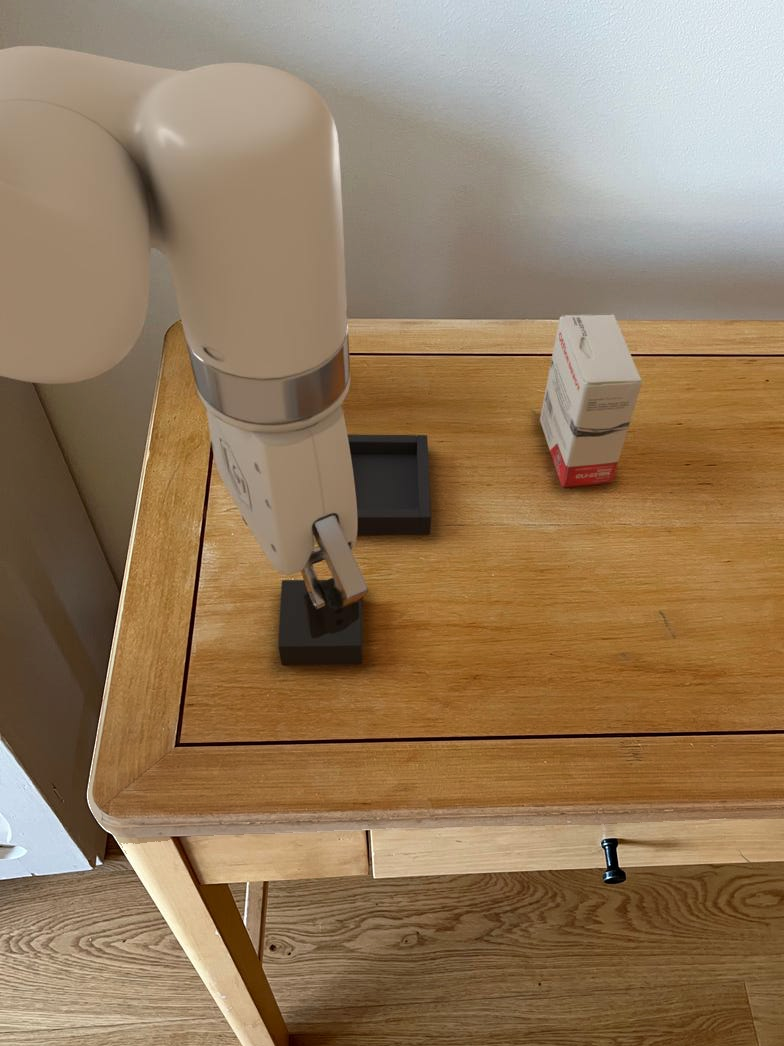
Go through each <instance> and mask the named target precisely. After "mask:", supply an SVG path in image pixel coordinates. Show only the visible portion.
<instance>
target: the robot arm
mask: <svg viewBox="0 0 784 1046" xmlns="http://www.w3.org/2000/svg"><path fill="white" fill-rule="evenodd" d="M341 171H342V170H341V154H340V144H339V134H338V129H337V126H336V122H335V119H334V117H333V115H332V113H331V111H330V109H329V107H328V105H327V103H326V102H325V101H324V99H323V98H322V97H321V96H320V94H319V93H318V92H317V91H316V90H315V88H314V87H312V86H311V85H309V84H308V83H307V82H306V81H304V80H302V79H300V78H299V77H297V76H296V75H293V74H291V73H289V72H287V71H285V70H282V69H280V68H279V69H278V68H276V67H274V66H273V67H272V66H269V65H264V64H259V63H251V62H221V63H212V64H208V65H207V64H206V65H203V66H199V67H194V68H192V69H190V70H180V69H173V68H172V69H171V68H165V67H158V66H153V65H147V64H142V63H136V62H132V61H128V60H127V61H126V60H122V59H117V58H113V57H108V56H104V55H103V56H102V55H97V54H92V53H89V52H88V53H87V52H83V51H79V50H72V49H67V48H61V47H53V46H52V47H51V46H44V45H18V46H12V47H7V48H2V49H0V377H5V378H7V379H12V380H17V381H20V382H27V383H35V384H43V385H62V384H74V383H78V382H83V381H86V380H90V379H93V378H97V377H98V376H101V375H103V374H104V373H106V372H109V371H110V370H112V369H113V368H114V367H116V366H117V365H118V364H119V363H120V362H121V361H122V360H123V359H124V358H126V357H127V356H128V355H129V354H130V352H131V350H132V349H133V347H134V345H135V344H136V343H137V341H138V339H139V338H140V336H141V333H142V331H143V328H144V325H145V321H146V319H147V314H148V310H149V309H148V308H149V296H150V282H151V281H150V279H151V248H154V249H155V250H158V251H159V252H160V253H162V254H163V255H164V257H165V259H166V260H167V263H168V267H169V272H170V275H171V281H172V285H173V290H174V294H175V298H176V304H177V307H178V312H179V315H180V320H181V325H182V329H183V333H184V339H185V344H186V348H187V352H188V356H189V357H188V358H189V362H190V366H191V371H192V375H193V380H194V383H195V387H196V391H197V395H198V397H199V400H200V401H201V403H202V405H203V406H204V407H205V411H206V416H207V422H208V429H209V436H210V441H211V448H212V453H213V459H214V463H215V466H216V470H217V472H218V474H219V477H220V479H221V481H222V482H223V483H222V484H223V485H224V486H225V488H226V491H227V493H228V495H229V496H230V497H231V500H232V501H233V503H234V505H235V506H236V509H238V511H239V513H240V515H241V518H242V520H243V522H244V523H245V525H246V526H247V527H248V529H249V530H250V532H251V534H252V536H253V537H254V539H255V540H256V542H257V544H258V546H259V547H260V549H261V551H262V552H263V554H264V555H265V557H266V559H267V560H268V562H269V563H270V565H271V567H273V568H274V569H275V570H276V571H277V572H278V573H280V574H282V575H285V576H291V575H294V574H297V573H299V572H300V574H301V576H302V580H304V582H305V585H306V588H307V590H308V592H307V593H306V594H305V595H304V596H303V599H304V606H305V614H306V621H307V629H308V632H309V634H310V635H311V637H312V638H318V637H320V636H323V635H325V634H327V633H331V634H334V633H337V632H340V631H342V630H344V629H346V628H347V627H349V626H350V625H351V623H353V622H355V621H357V620H358V618H359V600H361V599H362V600H363V599H364V598H365V596H366V595H367V594H368V593H369V587H368V584H367V582H366V580H365V578H364V575H363V573H362V571H361V569H360V567H359V565H358V563H357V560H356V558H355V556H354V553H353V552H352V551H353V549H354V547H355V545H356V543H357V537H358V535H357V522H358V520H357V503H356V492H355V483H354V475H353V467H352V460H351V454H350V447H349V441H348V436H347V435H348V429H347V426H346V421H345V420H346V419H345V416H344V411H343V406H342V404H343V402H344V401H345V399H346V397H347V395H348V393H349V391H350V386H351V380H352V379H351V360H350V341H349V339H350V338H349V337H350V336H349V321H348V320H349V318H348V317H349V315H348V298H347V297H348V296H347V282H346V281H347V279H346V278H347V277H346V260H345V259H346V257H345V239H344V237H345V236H344V218H343V217H344V216H343V215H344V214H343V196H342V193H343V192H342V175H341V174H342V172H341ZM315 541H316V543H317V545H318V546H315ZM322 561H325V563H326V565H327V567H328V569H329V571H330V573H331V576H332V577H331V578H329V579H325V580H326V581H323V582H321V583H319V582H318V580H319V578H318V576H317V573H316V570H315V568H314V565H315V564H318V563H321V562H322Z"/></svg>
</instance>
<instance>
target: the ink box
mask: <svg viewBox="0 0 784 1046" xmlns="http://www.w3.org/2000/svg"><path fill="white" fill-rule="evenodd" d="M556 329H557V331H556V334H555V339H554V346H553V350H552V354H551V361H550V365H549V371H548V375H547V382H546V387H545V391H544V396H543V401H542V406H541V407H542V408H541V412H540V417H539V422H540V425H541V427H542V431H543V434H544V438H545V440H546V443H547V447H548V450H549V452H550V456H551V459H552V463H553V466H554V469H555V472H556V475H557V478H558V481H559V484H560V487H562V488H568V487H580V486H581V487H582V486H589V485H591V486H593V485H601V484H609V483H613V479H614V476H615V473H616V470H617V466H618V464H619V460H620V457H621V453H622V449H623V446H624V443H625V441H626V438H627V437H626V436H627V433H628V430H629V427H630V424H631V420H632V417H633V414H634V411H635V408H636V404H637V402H638V398H639V394H640V391H641V388H642V384H643V380H642V377H641V375H640V373H639V371H638V369H637V366H636V364H635V361H634V358H633V356H632V354H631V352H630V349H629V346H628V345H627V342H626V340H625V336H624V335H623V332H622V330H621V328H620V325H619V322H618V320H617V318H616V316H615V313H595V314H594V313H587V314H585V313H583V314H562V315H561V316H560V317H559V320H558V324H557V328H556Z"/></svg>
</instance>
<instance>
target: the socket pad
mask: <svg viewBox="0 0 784 1046" xmlns="http://www.w3.org/2000/svg"><path fill="white" fill-rule="evenodd" d="M347 436H348V441H349V447H350V454H351V460H352V467H353V475H354V483H355V492H356V503H357V520H358V522H357V536H429V535H431V532H432V531H431V529H432V528H431V527H432V507H431V506H432V503H431V482H430V464H429V463H430V462H429V444H428V435H427V434H417V435H416V434H347Z"/></svg>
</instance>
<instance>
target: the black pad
mask: <svg viewBox="0 0 784 1046" xmlns="http://www.w3.org/2000/svg"><path fill="white" fill-rule="evenodd" d="M326 580H327V579H318V582H319V583H321V582H323V581H326ZM307 592H308V590H307V588H306V585H305V582H304V579H282V580H281V588H280V607H279V623H278V640H277V641H278V642H277V644H278V645H277V648H278V653H279V660H280V664H281V666H301V665H302V666H303V665H304V666H305V665H306V666H307V665H311V666H312V665H314V666H315V665H362V664H363V599H361V600H359V618H358V620H357V621H355V622H353V623H351V625H350V626H349V627H347V628H346V629H344V630H342V631H340V632H337V633H334V634H331V633H327V634H325V635H323V636H320V637H318V638H312V637H311V635H310V634H309V632H308V629H307V621H306V614H305V606H304V599H303V596H304V595H305V594H306V593H307Z"/></svg>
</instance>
